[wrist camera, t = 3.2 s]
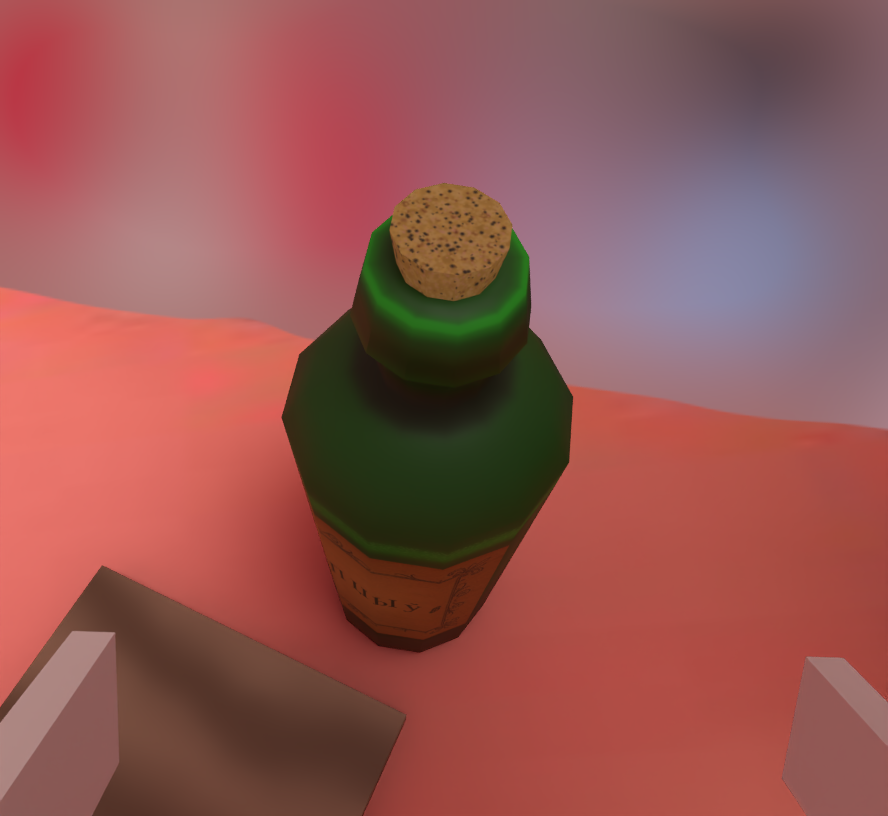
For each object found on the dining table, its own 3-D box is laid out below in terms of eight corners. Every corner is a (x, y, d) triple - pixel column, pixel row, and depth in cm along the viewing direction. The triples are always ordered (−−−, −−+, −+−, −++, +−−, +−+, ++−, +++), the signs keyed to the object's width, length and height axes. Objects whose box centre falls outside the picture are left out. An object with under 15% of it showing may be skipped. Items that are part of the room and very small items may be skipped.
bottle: (279, 556, 45) (169, 184, 21) (430, 460, 49) (482, 52, 25) (388, 716, 41) (405, 483, 17) (542, 598, 45) (734, 271, 21)
